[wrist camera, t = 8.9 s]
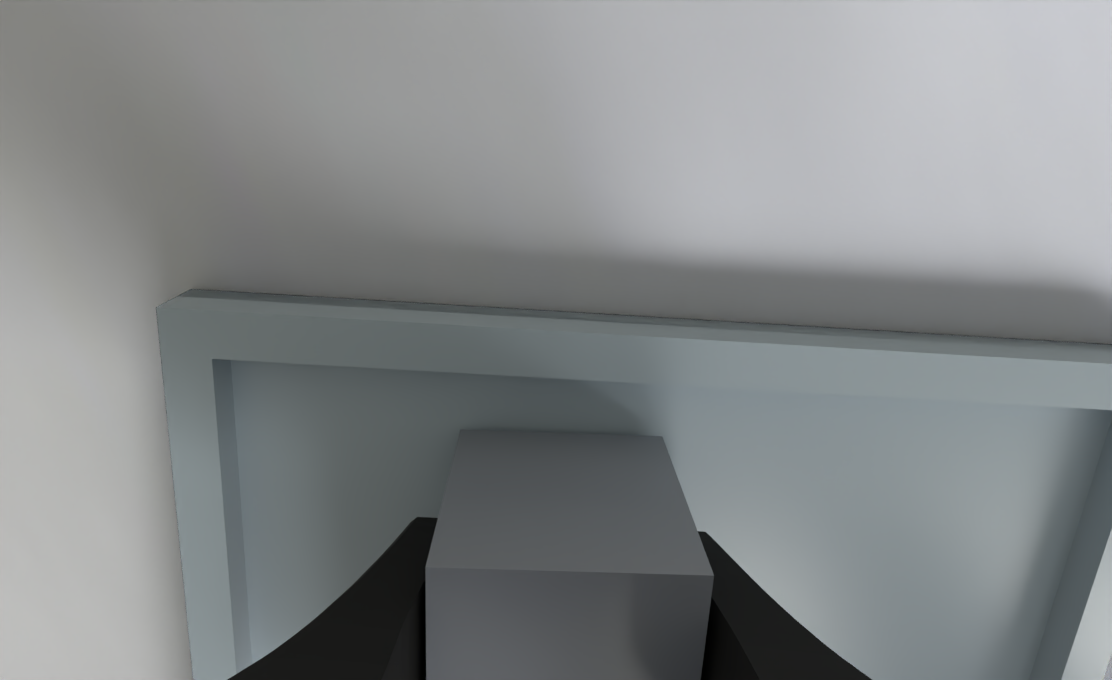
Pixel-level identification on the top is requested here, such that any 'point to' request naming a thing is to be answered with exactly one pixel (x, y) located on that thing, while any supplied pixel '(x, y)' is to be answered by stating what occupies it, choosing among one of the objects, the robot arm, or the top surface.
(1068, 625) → the parts tray
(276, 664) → the robot arm
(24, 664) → the top surface
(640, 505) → the plain grey cube
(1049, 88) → the top surface
